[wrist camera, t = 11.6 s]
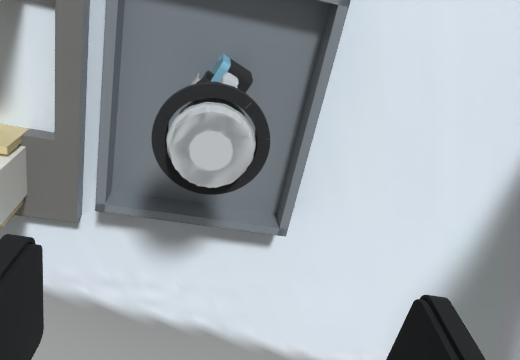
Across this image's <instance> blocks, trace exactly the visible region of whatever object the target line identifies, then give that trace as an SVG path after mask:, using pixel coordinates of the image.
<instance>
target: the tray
mask: <svg viewBox="0 0 520 360" xmlns="http://www.w3.org/2000/svg"><path fill="white" fill-rule="evenodd" d="M349 4H350V0H106V14H105V33H104V52H103V72H102V91H101V110H100V129H99V149H98V168H97V187H96V206H95V211H100V212H107V213H115V214H122V215H130V216H137V217H144V218H152V219H159V220H167V221H174V222H182V223H189V224H197V225H204V226H211V227H219V228H226V229H234V230H241V231H249V232H256V233H264V234H271V235H278V236H286V234H287V230H288V227H289V223H290V219H291V216H292V212H293V208H294V205H295V201H296V197H297V194H298V190H299V186H300V183H301V179H302V176H303V172H304V168H305V165H306V161H307V157H308V154H309V150H310V146H311V143H312V139H313V135H314V132H315V128H316V124H317V121H318V117H319V114H320V110H321V106H322V103H323V99H324V95H325V92H326V88H327V84H328V81H329V77H330V73H331V70H332V66H333V62H334V59H335V55H336V52H337V48H338V44H339V41H340V37H341V33H342V30H343V26H344V22H345V19H346V15H347V11H348V8H349ZM222 53H223V54H225V55H226V56H228V57H229V58H231V59H232V60H234V61H235V62H236V63H238V64H239V65H241V66H242V67H244V68H245V69H247V70H248V71H250V72H251V74H252V78H253V82H252V84H251V86H250V87H249V89H248V90H247V92H246V94H247V95H249V96H250V97H251V98H252V99H253V100H254V101H255V102H256V103H257V104H258V106H259V107H260V108H261V110H262V112H263V113H264V115H265V118H266V120H267V123H268V127H269V131H270V150H269V154H268V157H267V160H266V162H265V164H264V166H263V168H262V169H261V171H260V172H259V173H258V175H257V176H256V177H255V178H254V179H253V180H251V181H250V182H249V183H248V184H246V185H245V186H243V187H241V188H239V189H237V190H235V191H232V192H229V193H224V194H217V195H207V194H200V193H195V192H192V191H189V190H187V189H185V188H183V187H181V186H179V185H177V184H176V183H175V182H173V181H172V180H171V179H170V178H169V177H168V176H167V175H166V174H165V173H164V172H163V171H162V169H161V168H160V166H159V165H158V163H157V161H156V158H155V156H154V153H153V149H152V140H151V137H152V128H153V124H154V121H155V118H156V116H157V114H158V112H159V110H160V108H161V107H162V105H163V104H164V103H165V102H166V101H167V100H168V98H170V97H171V96H172V95H173V94H174V93H176V92H177V91H179V90H181V89H183V88H185V87H187V86H190V85H191V83H192V82H193V80H194V79H195V77H196V75H197V74H198V73H199V77H198V78H199V79H200V80H201V79H202V78H203V76H204V75H205V73H206V72H207V70H209V71H210V72H211V71H212V70H213V68H214V67H215V65H216V63H217V61H218V59H219V58H220V56H221V55H222ZM185 105H186V104H185ZM185 105H183V106H182V107H184V106H185ZM182 107H181V108H182ZM181 108H179V109H178V110H177V111H176V112H175V114H174V115H173V116H172V118H171V119H170V121H169V129H170V127H171V124H172V122H173V121H174V119H175V118H176V117H177V116H178V115H179V113H180V110H181ZM244 113H245V117H246V120H247V121H248V122H249V124H250V125H251V127H252V129H253V132H254V137H255V126H254V124H253V122H252V120H251V118H250V117H249V116H248V114H247V113H246V112H245V111H244ZM168 131H169V130H168Z"/></svg>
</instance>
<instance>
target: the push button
mask: <svg viewBox="0 0 520 360" xmlns="http://www.w3.org/2000/svg"><path fill="white" fill-rule="evenodd" d="M198 77H199V73H198V74H197V75H196V77H195V79H194V80H193V82H192V83H191V85H190V86H187V87H185V88H183V89H181V90H179V91H177V92H176V93H174V94H173V95H172V96H171V97H170V98H168V100H167V101H166V102H165V103H164V104H163V105H162V107H161V108H160V110H159V112H158V114H157V116H156V118H155V121H154V124H153V128H152V137H151V140H152V149H153V153H154V156H155V158H156V161H157V163H158V165H159V166H160V168H161V169H162V171H163V172H164V173H165V174H166V175H167V176H168V177H169V178H170V179H171V180H172V181H173V182H175V183H176V184H177V185H179V186H181V187H183V188H185V189H187V190H189V191H192V192H195V193H200V194H207V195H217V194H224V193H229V192H232V191H235V190H237V189H239V188H241V187H243V186H245V185H246V184H248V183H249V182H250V181H251V180H253V179H254V178H255V177H256V176H257V175H258V173H259V172H260V171H261V169H262V168H263V166H264V164H265V162H266V160H267V157H268V154H269V150H270V131H269V127H268V123H267V120H266V118H265V115H264V113H263V112H262V110H261V108H260V107H259V106H258V104H257V103H256V102H255V101H254V100H253V99H252V98H251V97H250V96H249V95H247V94H246V92H247V90H248V89H249V87H250V86H251V84H252V82H253V78H252V74H251V72H250V71H248V70H247V69H245V68H244V67H242V66H241V65H239V64H238V63H236V62H235V61H234V60H232V59H231V58H229V57H228V56H226V55H225V54H223V53H222V55H221V56H220V58H219V59H218V61H217V63H216V65H215V67H214V68H213V70H212V71H211V72H210V71H209V70H207V72H206V73H205V75H204V76H203V78H202V79H201V80H200V79H199V78H198ZM185 104H186V105H185ZM183 105H185V106H184V107H182V106H183ZM181 107H182V108H181ZM179 108H181V110H180V113H179V115H178V116H177V117H176V118H175V119H174V121H173V122H172V124H171V127H170V129H169V121H170V119H171V118H172V116H173V115H174V114H175V112H176V111H177V110H178V109H179ZM244 111H245V112H246V113H247V114H248V116H249V117H250V118H251V120H252V122H253V124H254V126H255V137H254V132H253V129H252V127H251V125H250V124H249V122H248V121H247V120H246V117H245V113H244ZM168 130H169V131H168Z"/></svg>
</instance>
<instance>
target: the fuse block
mask: <svg viewBox="0 0 520 360" xmlns="http://www.w3.org/2000/svg"><path fill="white" fill-rule="evenodd" d="M89 4H90V0H56V5H55V133H52V132H46V131H40V130H34V129H27V128H21V127H15V126H8V125H2V124H0V229H2V228H3V227H4V226H5V225H6V223H7V222H8V221H9V220H10V219H11V218H12V216H13V215H19V216H26V217H34V218H42V219H49V220H57V221H65V222H73V223H77V222H78V220H79V218H80V216H81V215H82V193H83V166H84V139H85V112H86V85H87V58H88V31H89Z"/></svg>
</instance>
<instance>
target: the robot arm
mask: <svg viewBox="0 0 520 360" xmlns="http://www.w3.org/2000/svg"><path fill="white" fill-rule="evenodd" d="M43 326H44V325H43V262H42V247H41V245H36V244H35V240H34V238H32V237H25V236H18V235H11V234H6V235H5V236H3V237H2V238H1V240H0V360H31V359H32V357H33V355H34V353H35V351H36V349H37V347H38V346H39V344H40V341H41V338H42V335H43V328H44V327H43ZM386 360H485V358H484V356H483V355H482V353H481V351H480V350H479V348H478V347H477V345H476V343H475V342H474V340H473V338H472V337H471V335H470V333H469V332H468V330H467V328H466V327H465V325H464V324H463V322H462V320H461V319H460V317H459V315H458V314H457V312H456V310H455V309H454V307H453V306H452V304H451V302H450V301H449V300H448V299H447V298H444V297H437V296H431V295H423V296H422V297H421V298H420V299H417V300H415V301H414V302H413V304H412V306H411V308H410V311H409V313H408V315H407V317H406V319H405V321H404V323H403V325H402V328H401V330H400V332H399V334H398V336H397V338H396V340H395V342H394V345H393V347H392V349H391V351H390V353H389V355H388V357H387V359H386Z"/></svg>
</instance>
